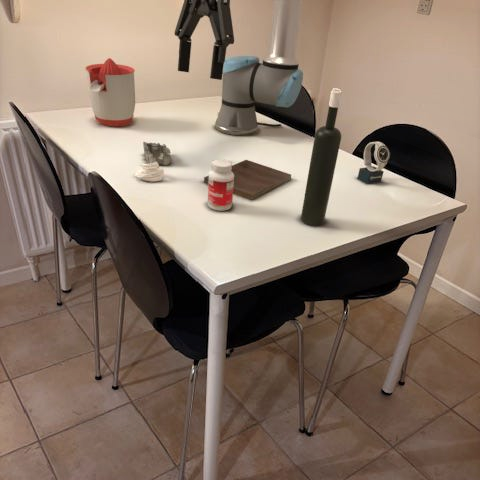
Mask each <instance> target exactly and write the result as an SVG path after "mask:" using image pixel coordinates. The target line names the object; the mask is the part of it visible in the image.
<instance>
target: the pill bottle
mask: <svg viewBox="0 0 480 480" xmlns="http://www.w3.org/2000/svg"><path fill="white" fill-rule="evenodd" d="M211 163H212V164H211V168H212V169H211V170H210V171H209V173H208V175H209V182H208V184H207V186H208V188H207V206H208V207H209V208H210V209H212V210H213V211H220V212H222V211H227V210H230V209H231V208H232V207H233V197H234V193H233V185H234V174H233V172H232V171H231V170H232V165H233V163H232V161H230V160H227V159H221V158H220V159H214V160H213V161H212V162H211Z"/></svg>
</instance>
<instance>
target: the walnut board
mask: <svg viewBox="0 0 480 480" xmlns="http://www.w3.org/2000/svg"><path fill="white" fill-rule="evenodd" d="M231 171H232V172H233V174H234V185H233V195H237V196H239V197H242V198H245V199H247V200H250V201H253V200H255V199H257V198H258V197H260V196H263V195H264V194H267V193H268V192H270V191H272V190H274V189H277V188H278V187H279V186H281V185H283V184H285V183H287V182H290V181H291V180H292V174H291V173H288V172H284V171H282V170H279V169H275V168H272V167H270V166H267V165H263V164H261V163H258V162H254V161H252V160H249V159H244V160H242V161H240V162H237V163H235V164H232V170H231ZM208 182H209V174H208V175H207V176H203V183H205V184H207V185H208Z"/></svg>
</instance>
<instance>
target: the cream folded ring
mask: <svg viewBox="0 0 480 480" xmlns="http://www.w3.org/2000/svg"><path fill="white" fill-rule="evenodd" d="M134 176H135V177H137V178H138V179H140V180H143V181H146V182H153V183H154V182H159V181H162V180H164V177H165V170H164V168H160V164H158V163H157V162H154V163H150V164H147V162H146V163H145V162H143V163H141V164H139V168H138V170H137V172H136V173H135V174H134Z"/></svg>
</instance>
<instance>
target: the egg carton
mask: <svg viewBox="0 0 480 480" xmlns="http://www.w3.org/2000/svg"><path fill="white" fill-rule="evenodd" d="M142 147H143V156H145V160H146V164H150V163H154V162H157V163H158V164H159V165H162V166H168V165H170V164H171V160H172V159H171V149H170V148H169V147H167V145H166V143H163V144H160V142H157V143H156V142H146V141H142Z"/></svg>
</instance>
